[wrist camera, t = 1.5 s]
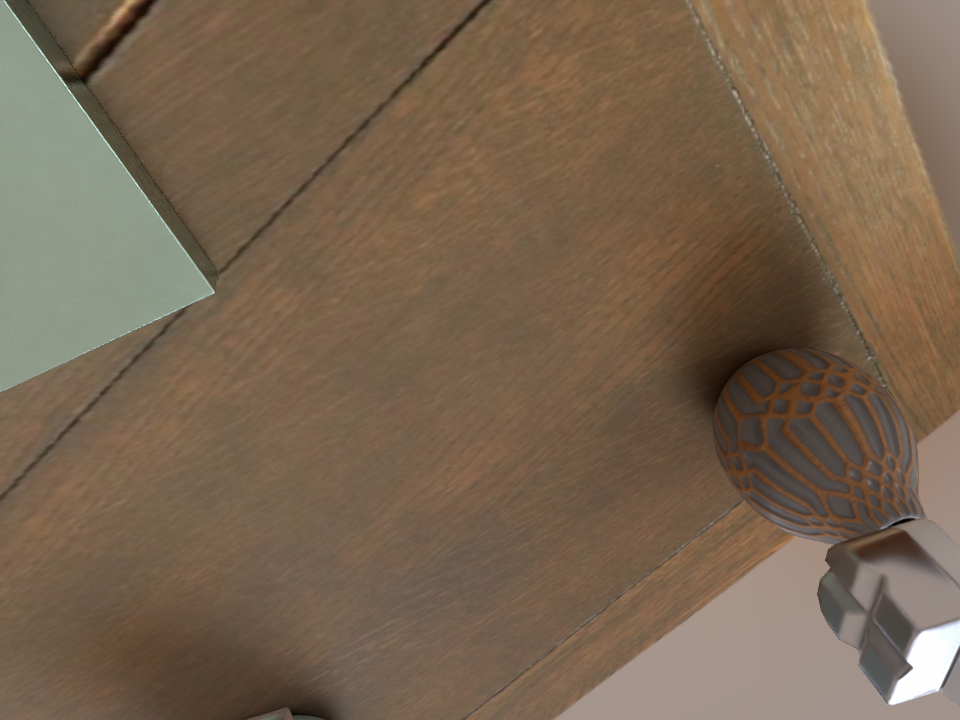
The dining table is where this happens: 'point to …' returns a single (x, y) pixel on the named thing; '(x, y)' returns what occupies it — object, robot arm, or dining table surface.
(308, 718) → the cup
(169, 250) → the green metallic slab
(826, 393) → the vase
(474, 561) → the dining table surface
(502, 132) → the dining table surface
